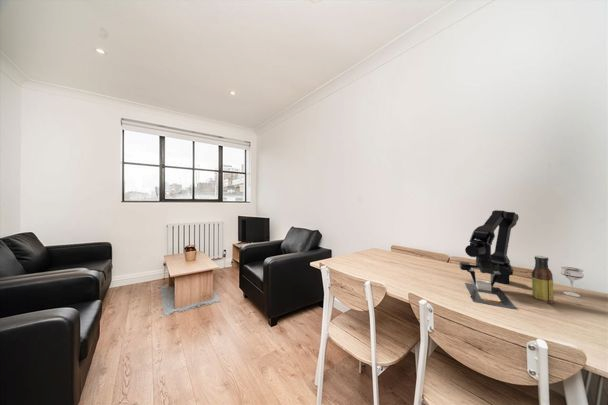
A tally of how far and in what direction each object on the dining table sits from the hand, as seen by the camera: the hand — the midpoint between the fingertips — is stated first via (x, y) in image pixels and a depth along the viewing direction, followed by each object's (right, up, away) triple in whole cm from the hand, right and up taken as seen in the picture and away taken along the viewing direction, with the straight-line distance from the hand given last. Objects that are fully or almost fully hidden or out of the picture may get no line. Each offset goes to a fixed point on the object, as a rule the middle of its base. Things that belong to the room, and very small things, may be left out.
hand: (483, 285), depth 104 cm
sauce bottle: (+16, -3, -11) cm, 20 cm away
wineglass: (+37, -2, -6) cm, 37 cm away
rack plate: (-3, -3, -5) cm, 6 cm away
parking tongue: (+3, -2, +6) cm, 7 cm away
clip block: (0, -2, 0) cm, 2 cm away
